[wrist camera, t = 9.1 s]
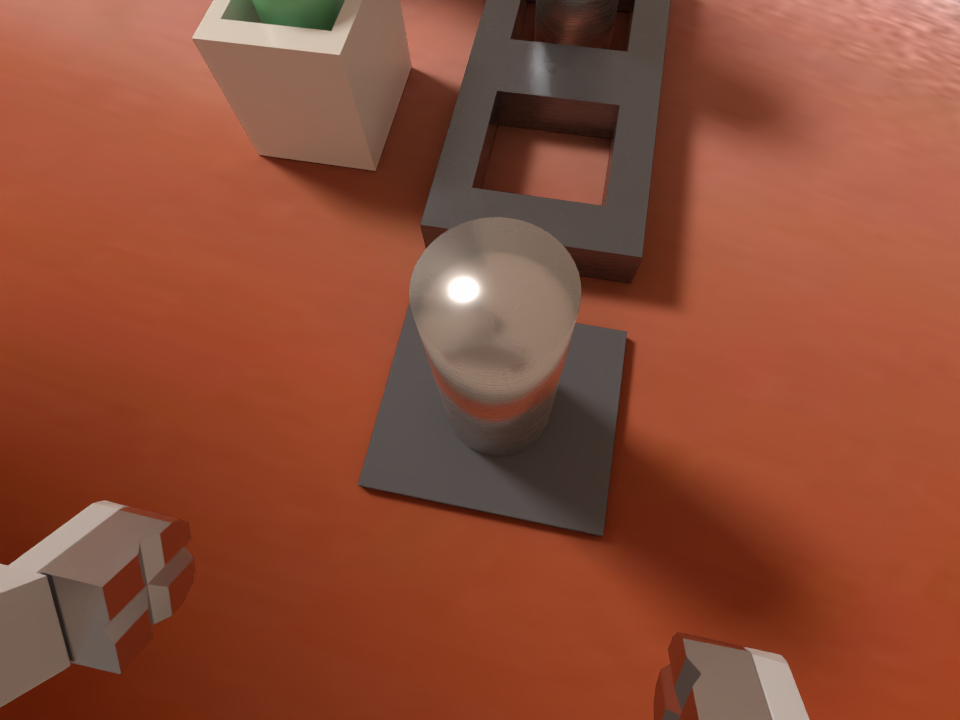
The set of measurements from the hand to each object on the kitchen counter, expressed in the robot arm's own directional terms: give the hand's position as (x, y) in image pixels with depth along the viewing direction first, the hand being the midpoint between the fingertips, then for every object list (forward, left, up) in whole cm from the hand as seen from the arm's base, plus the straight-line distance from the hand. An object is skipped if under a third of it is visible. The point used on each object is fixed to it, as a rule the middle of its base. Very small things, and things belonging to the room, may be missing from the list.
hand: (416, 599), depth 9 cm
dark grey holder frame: (0, +23, -11) cm, 25 cm away
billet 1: (0, +7, -10) cm, 12 cm away
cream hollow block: (-11, +21, -11) cm, 26 cm away
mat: (0, +7, -11) cm, 13 cm away
